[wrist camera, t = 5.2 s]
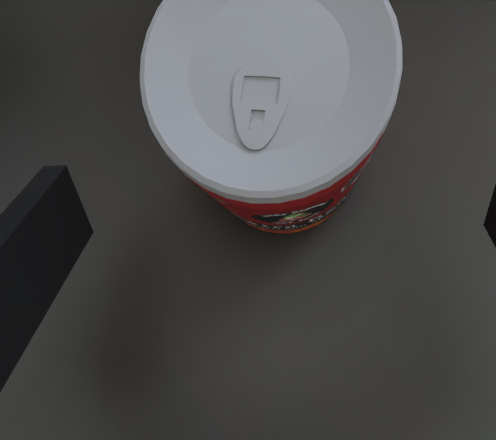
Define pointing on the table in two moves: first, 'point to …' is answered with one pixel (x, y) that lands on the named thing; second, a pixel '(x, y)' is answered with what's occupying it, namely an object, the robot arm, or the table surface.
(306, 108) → the canned food
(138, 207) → the table surface
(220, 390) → the table surface
